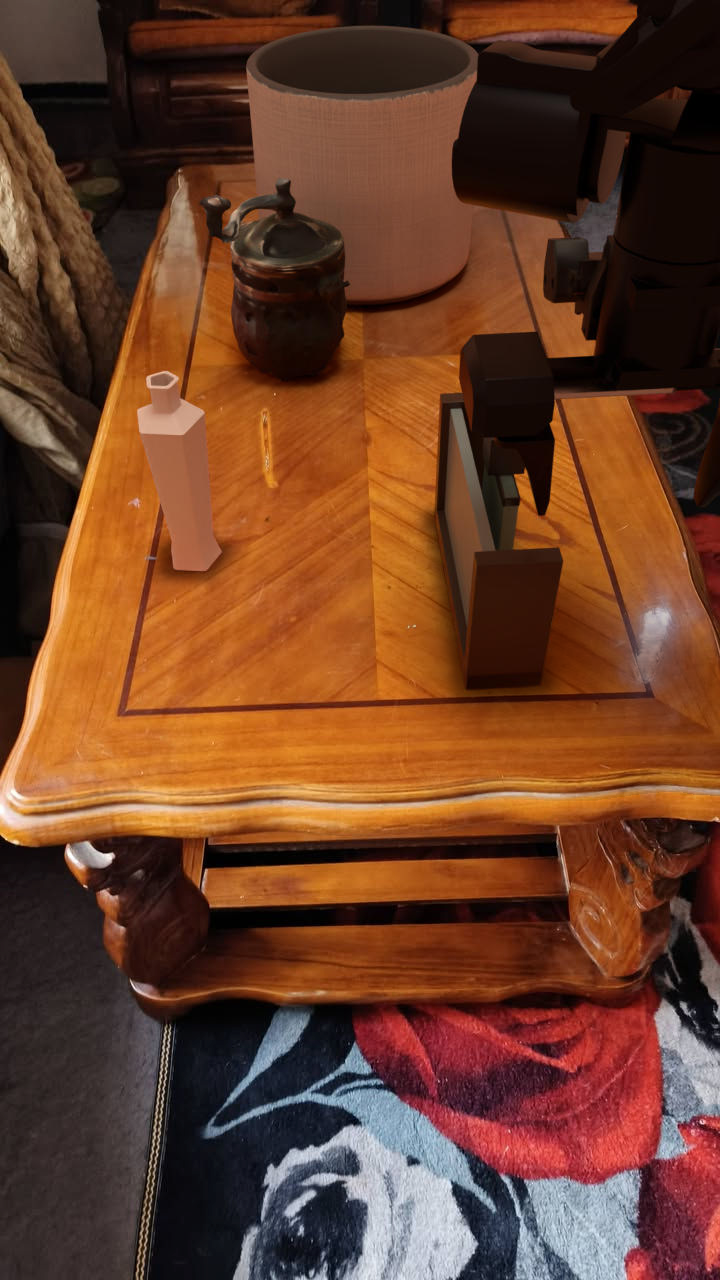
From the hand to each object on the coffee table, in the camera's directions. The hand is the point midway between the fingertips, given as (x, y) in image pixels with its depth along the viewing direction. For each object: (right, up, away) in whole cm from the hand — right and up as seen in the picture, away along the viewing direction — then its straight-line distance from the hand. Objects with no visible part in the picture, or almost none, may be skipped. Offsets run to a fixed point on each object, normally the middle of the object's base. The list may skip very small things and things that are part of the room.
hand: (619, 506), depth 55 cm
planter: (-14, +34, +50) cm, 62 cm away
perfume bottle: (-27, -1, +17) cm, 33 cm away
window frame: (-6, -4, +14) cm, 16 cm away
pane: (-5, -2, +14) cm, 15 cm away
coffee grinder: (-22, +18, +36) cm, 45 cm away
